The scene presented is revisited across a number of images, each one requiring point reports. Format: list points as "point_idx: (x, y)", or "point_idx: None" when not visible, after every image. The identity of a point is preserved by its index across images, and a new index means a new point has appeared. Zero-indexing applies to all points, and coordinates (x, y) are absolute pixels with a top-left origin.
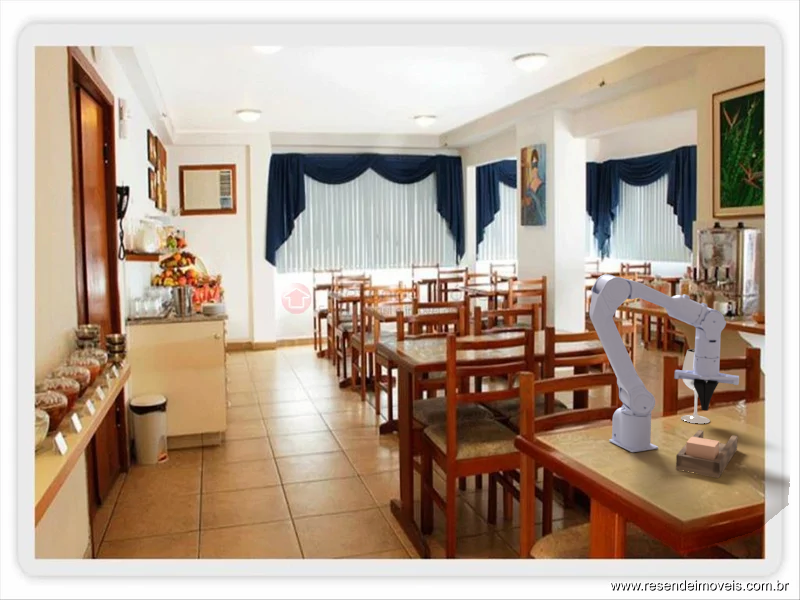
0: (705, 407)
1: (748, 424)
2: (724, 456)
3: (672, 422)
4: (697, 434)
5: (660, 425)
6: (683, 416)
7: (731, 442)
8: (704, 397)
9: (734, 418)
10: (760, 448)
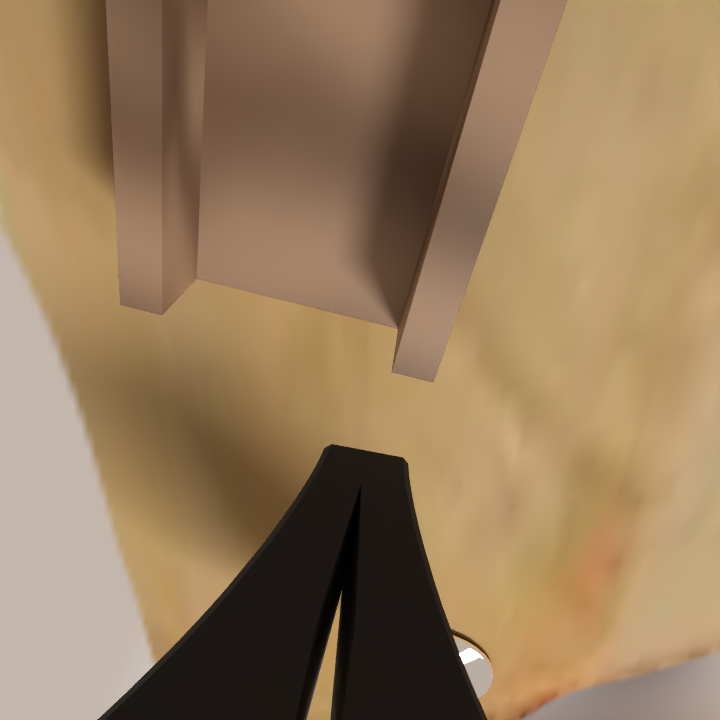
0: (346, 476)
1: None
2: None
3: (548, 630)
4: (454, 245)
5: (635, 585)
6: (478, 692)
7: (123, 71)
8: (343, 668)
9: None
10: (54, 333)
